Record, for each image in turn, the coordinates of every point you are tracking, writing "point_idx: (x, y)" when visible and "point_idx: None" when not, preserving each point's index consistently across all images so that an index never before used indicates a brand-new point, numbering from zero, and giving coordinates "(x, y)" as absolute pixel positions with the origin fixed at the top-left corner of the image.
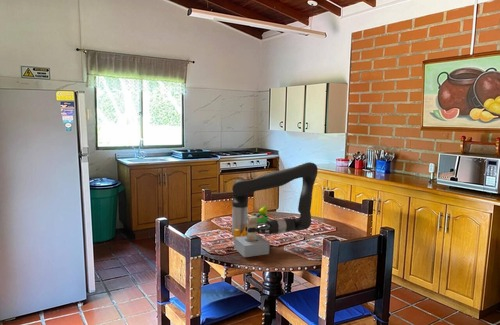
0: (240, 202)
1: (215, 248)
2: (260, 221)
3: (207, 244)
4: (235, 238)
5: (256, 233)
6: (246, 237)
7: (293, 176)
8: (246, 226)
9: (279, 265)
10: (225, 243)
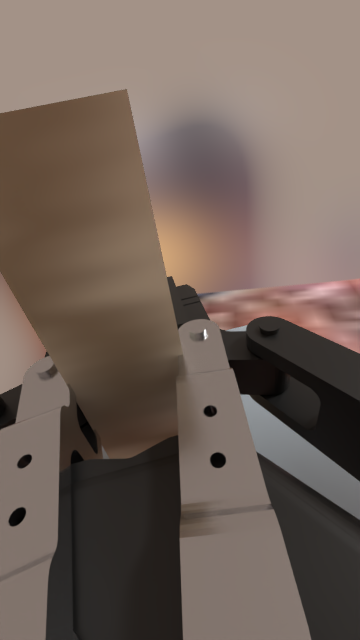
0: None
1: (245, 312)
2: None
3: (300, 287)
4: (229, 330)
5: (107, 450)
6: (255, 403)
7: None
8: (168, 279)
9: None
10: (340, 343)
